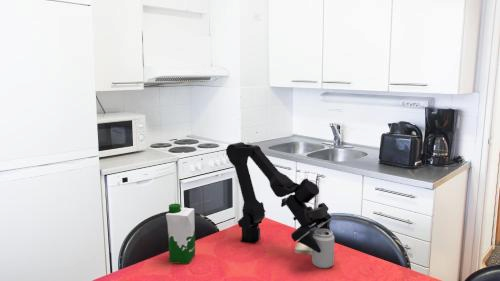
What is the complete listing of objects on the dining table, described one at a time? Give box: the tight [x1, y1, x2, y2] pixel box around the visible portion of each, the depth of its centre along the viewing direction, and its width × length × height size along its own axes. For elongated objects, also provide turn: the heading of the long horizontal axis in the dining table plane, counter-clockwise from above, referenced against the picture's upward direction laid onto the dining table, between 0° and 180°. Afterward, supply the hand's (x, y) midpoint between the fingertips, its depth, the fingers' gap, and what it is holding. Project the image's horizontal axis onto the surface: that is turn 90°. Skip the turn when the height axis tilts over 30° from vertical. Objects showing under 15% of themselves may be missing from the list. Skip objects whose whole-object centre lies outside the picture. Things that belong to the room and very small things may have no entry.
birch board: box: [294, 239, 312, 256], centre depth 151 cm, size 11×11×2 cm
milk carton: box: [165, 203, 196, 265], centre depth 142 cm, size 9×9×20 cm
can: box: [311, 228, 335, 269], centre depth 138 cm, size 8×8×12 cm
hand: (326, 247), depth 137 cm, fingers open, 9 cm apart
